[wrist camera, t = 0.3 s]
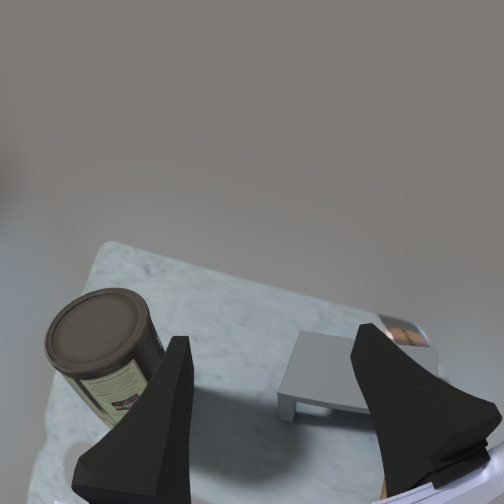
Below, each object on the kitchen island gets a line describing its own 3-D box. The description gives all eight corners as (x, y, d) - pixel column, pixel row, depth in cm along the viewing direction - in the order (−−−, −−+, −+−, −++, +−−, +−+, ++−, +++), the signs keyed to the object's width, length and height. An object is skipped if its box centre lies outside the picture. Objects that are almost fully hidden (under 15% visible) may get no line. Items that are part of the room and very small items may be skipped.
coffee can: (148, 362, 37) (107, 274, 30) (207, 402, 32) (173, 313, 24) (91, 412, 30) (29, 331, 23) (145, 465, 25) (75, 395, 17)
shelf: (417, 440, 24) (438, 414, 21) (279, 419, 29) (277, 392, 26) (421, 380, 30) (437, 348, 27) (299, 363, 36) (300, 330, 32)
